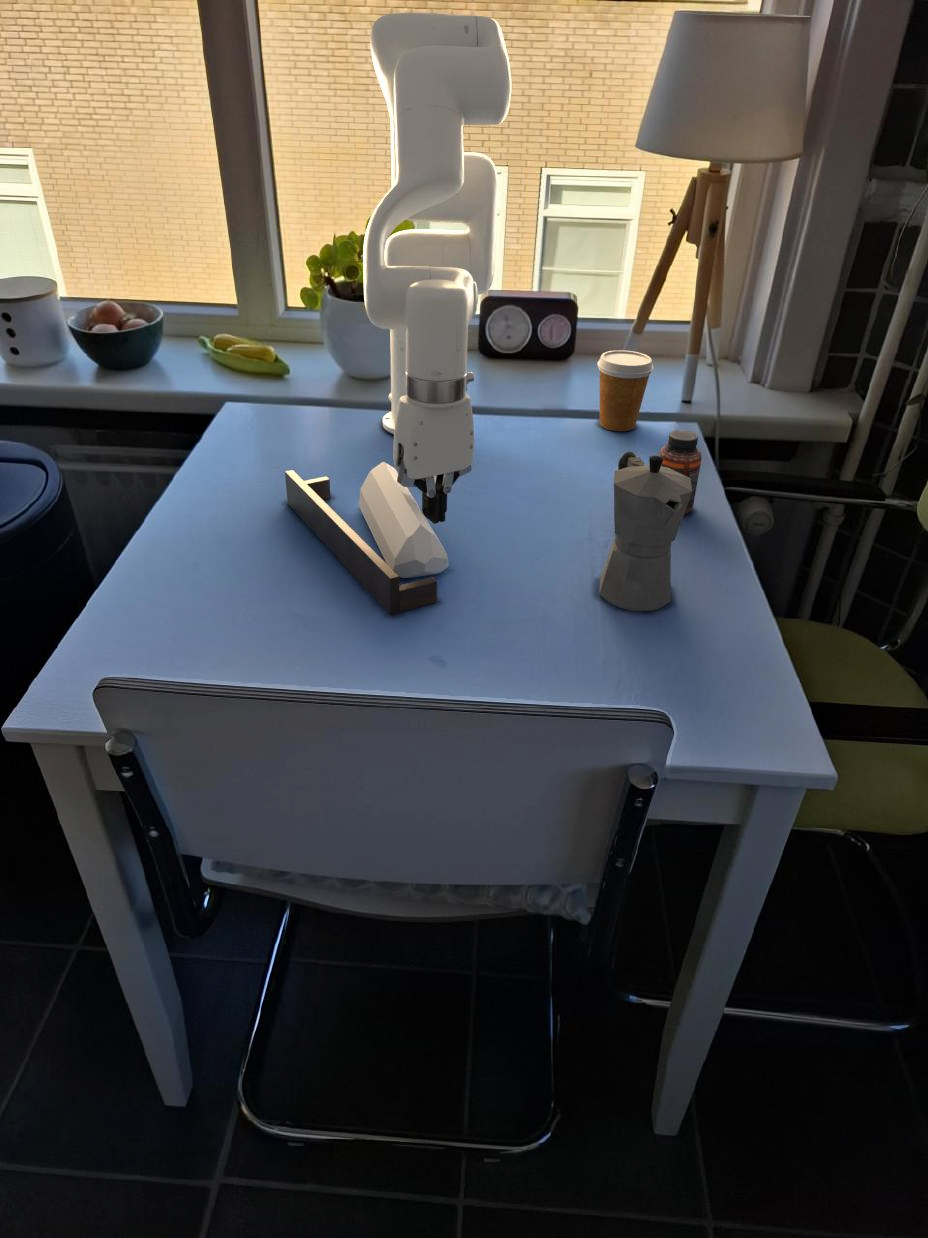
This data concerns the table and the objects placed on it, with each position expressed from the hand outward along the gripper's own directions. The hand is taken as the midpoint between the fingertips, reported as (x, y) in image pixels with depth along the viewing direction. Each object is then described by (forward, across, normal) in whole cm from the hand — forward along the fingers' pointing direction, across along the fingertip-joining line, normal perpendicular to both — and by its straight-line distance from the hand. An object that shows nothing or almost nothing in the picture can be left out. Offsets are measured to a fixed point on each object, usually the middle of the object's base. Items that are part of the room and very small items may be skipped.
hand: (434, 518), depth 119 cm
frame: (+2, +12, -1) cm, 12 cm away
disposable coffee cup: (+2, -49, -20) cm, 53 cm away
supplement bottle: (+2, -34, +10) cm, 36 cm away
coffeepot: (+2, -14, +25) cm, 29 cm away
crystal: (+2, +5, 0) cm, 6 cm away
